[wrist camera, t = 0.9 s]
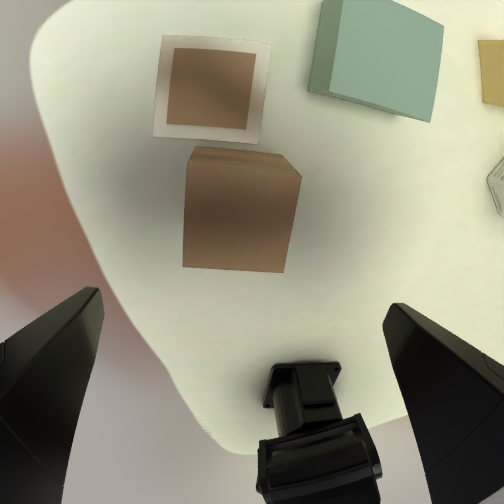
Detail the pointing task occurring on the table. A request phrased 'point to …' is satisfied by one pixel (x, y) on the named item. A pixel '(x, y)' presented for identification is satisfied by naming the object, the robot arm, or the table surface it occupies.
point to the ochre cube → (492, 71)
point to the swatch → (211, 88)
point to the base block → (377, 56)
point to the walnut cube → (238, 210)
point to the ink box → (498, 186)
